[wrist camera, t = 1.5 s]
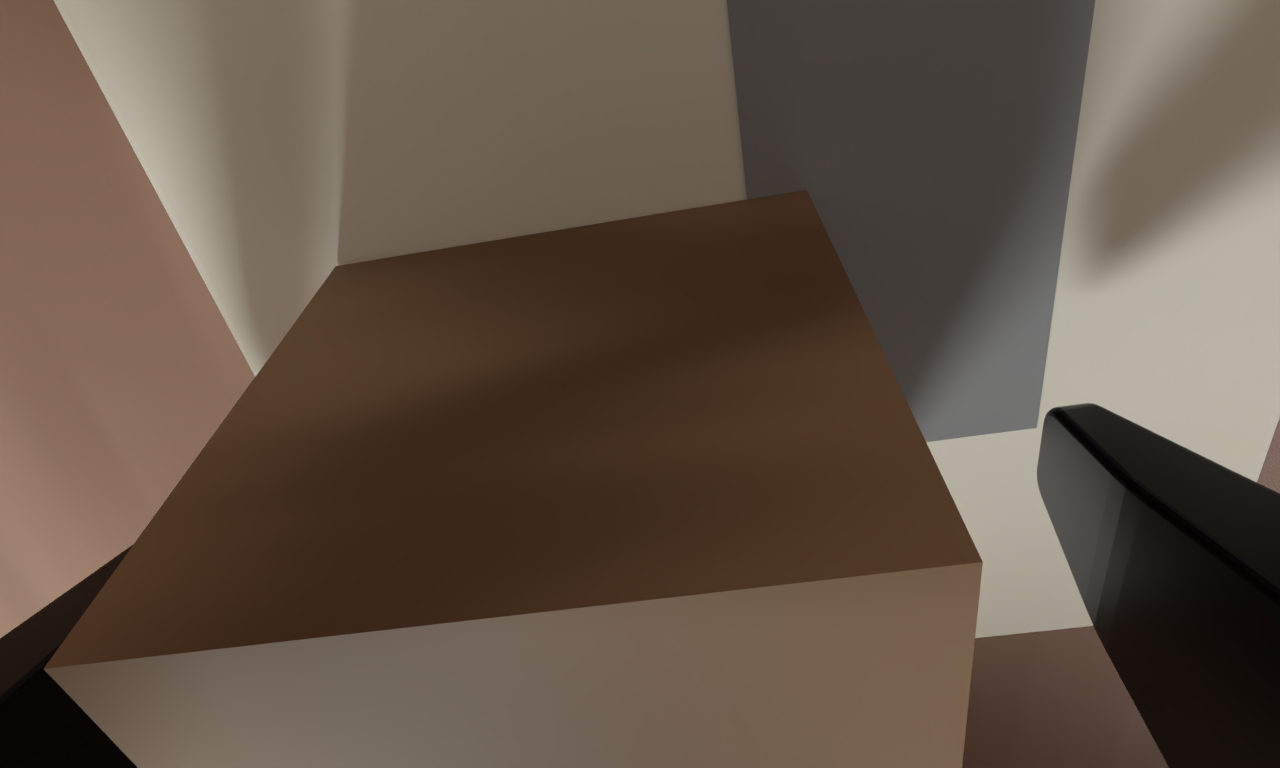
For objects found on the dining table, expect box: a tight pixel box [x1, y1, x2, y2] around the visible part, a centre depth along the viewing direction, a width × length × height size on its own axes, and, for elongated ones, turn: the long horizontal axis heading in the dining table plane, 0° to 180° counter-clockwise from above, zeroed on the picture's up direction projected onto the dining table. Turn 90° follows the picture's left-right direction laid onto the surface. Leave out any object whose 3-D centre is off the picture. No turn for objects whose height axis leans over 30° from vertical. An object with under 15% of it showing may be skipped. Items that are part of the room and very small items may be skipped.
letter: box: [54, 0, 1280, 638], centre depth 8 cm, size 12×16×1 cm
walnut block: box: [44, 190, 983, 768], centre depth 8 cm, size 5×5×5 cm
